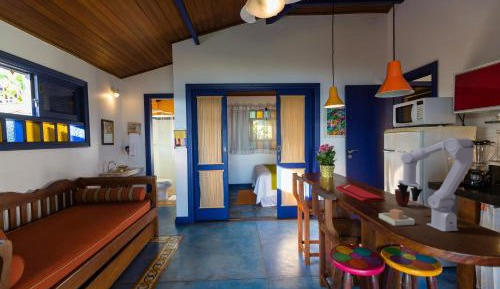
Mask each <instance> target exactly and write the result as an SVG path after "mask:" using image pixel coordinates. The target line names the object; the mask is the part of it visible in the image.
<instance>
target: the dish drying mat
mask: <svg viewBox="0 0 500 289" xmlns="http://www.w3.org/2000/svg"><path fill="white" fill-rule="evenodd" d="M335 189H336V190H337V191H340V192H341V193H343V194H346V195H347V196H350V197H352V198H354V199H357V200H359V201H361V202H364V203H365V202H384V201H385V199H384V198H383V197H382V196H379V195H377V194H375V193H372V192H370V191H367V190H364V189H362V188H360V187H358V186H355V185H354V184H341V185H337V186H335Z"/></svg>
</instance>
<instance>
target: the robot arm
mask: <svg viewBox="0 0 500 289" xmlns="http://www.w3.org/2000/svg"><path fill="white" fill-rule="evenodd" d="M475 148H476V145H475V144H474V142H473V140H472V139H470V138H468V137H461V138H457V137H455V138H453V137H450V138H447V139H443V140H442V141H440V142H437V143H435V144H432V145H431V146H429V147H425V146H418V147H417V149H415V150H410V151H409V152H404V153H402V154H401V156H400V160H401V161H402V163H403V179H401V180H398V182H397V189H399V190H400V192H401V196H402V198H406V196H407V190H409V187H410V193H411V199H412V202H415V203H416V202H418V200H419V197H420V195H421V193H423V192H422V191H424V190H423V185H422V184H419V183H418V182H417V166H418V163H419V161H422V160H424V159H428V158H429V157H430V156H431V154H435V153H438V152H442V151H447V152H448V153H449V155H450V156H452V157H453V159H454V160H455V161H454V163H453V165H452V166H451V169H450V170H449V172H448V173H447V175H446V177H445V179H444V181H443V183H442V184H441V186H440V187H439V189H437V190H436V191H435V192H433V194H432V195H430V196H429V197H428V198H427V203H428V205H429V207H430V209H431V218H430V219H431V222H429V223H428V222H427V223H426V225H427V226H429V227H431V228H434V229H436V230H439V231H441V232H452V231H453V232H454V231H455V232H456V231H459V229H458V228H457V225H458V224H457V223H458V222H457V221H458V217H457V215H456V214H455V212H453V211H451V210H452V208H453V206H454V205H455V200H456V199H455V198H457V197H456V194H454V193H455V192H456V190H457V189H458V188H459V186H460V184H461V182H462V180H463V179H464V178H465V176H466V174H467V172H468V170H470V167H471V166H472V164H473V162H474V150H475Z"/></svg>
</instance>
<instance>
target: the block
mask: <svg viewBox="0 0 500 289" xmlns="http://www.w3.org/2000/svg"><path fill="white" fill-rule="evenodd" d="M389 213H390V218H392V219H394V220H403V215H404V210H400V209H397V208H392V209H389Z"/></svg>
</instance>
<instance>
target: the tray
mask: <svg viewBox="0 0 500 289" xmlns="http://www.w3.org/2000/svg"><path fill="white" fill-rule="evenodd" d="M378 219H380V220H382V221H384V222H386V223H388V224H389V225H392V226H393V227H398V226H399V227H400V226H413V225H414V226H415V225H416V224H415V223H416V220H415V219H414V218H412V217H409V216H407V215H404V214H403V220H394V219H392V218H390V212H382V213H381V212H380V213H378Z"/></svg>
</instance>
